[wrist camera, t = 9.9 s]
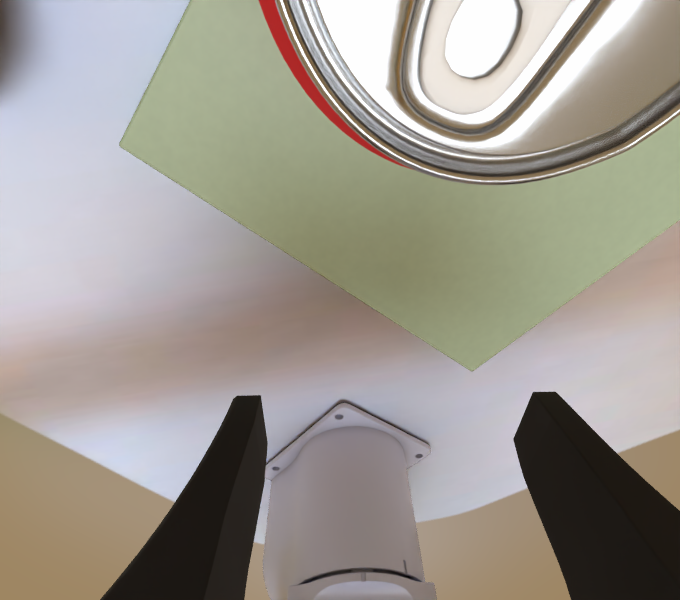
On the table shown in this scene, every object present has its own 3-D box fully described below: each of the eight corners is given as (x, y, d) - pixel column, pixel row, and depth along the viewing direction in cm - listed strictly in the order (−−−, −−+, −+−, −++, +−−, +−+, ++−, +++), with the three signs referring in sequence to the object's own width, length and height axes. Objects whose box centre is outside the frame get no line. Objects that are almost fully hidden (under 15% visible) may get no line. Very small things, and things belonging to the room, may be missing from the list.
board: (466, 357, 25) (473, 375, 24) (129, 136, 17) (115, 147, 16) (714, 170, 19) (738, 182, 18) (357, -317, 11) (361, -350, 10)
